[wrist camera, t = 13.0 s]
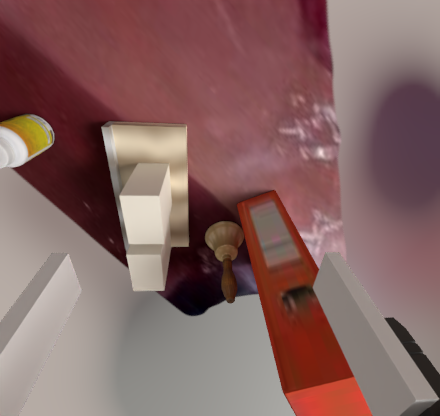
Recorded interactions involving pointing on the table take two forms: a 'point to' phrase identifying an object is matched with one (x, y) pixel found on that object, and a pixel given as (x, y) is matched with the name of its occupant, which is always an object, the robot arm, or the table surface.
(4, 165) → the supplement bottle
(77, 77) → the table surface
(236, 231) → the hand bell
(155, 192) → the carton
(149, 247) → the carton
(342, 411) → the file binder
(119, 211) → the thin cream board
